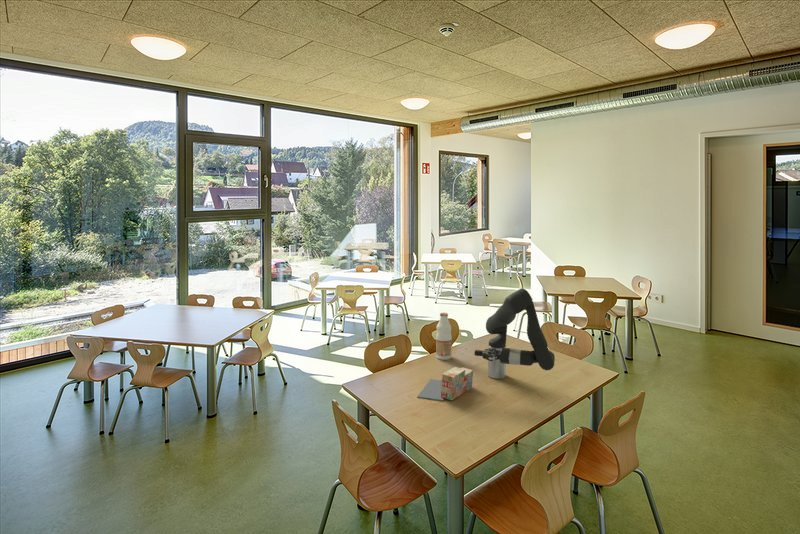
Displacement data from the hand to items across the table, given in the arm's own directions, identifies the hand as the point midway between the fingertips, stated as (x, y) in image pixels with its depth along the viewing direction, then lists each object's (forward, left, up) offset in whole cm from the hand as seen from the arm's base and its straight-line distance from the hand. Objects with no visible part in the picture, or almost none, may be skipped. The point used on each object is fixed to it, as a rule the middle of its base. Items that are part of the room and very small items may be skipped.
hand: (474, 352), depth 227 cm
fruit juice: (+28, -49, -22) cm, 61 cm away
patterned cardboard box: (+9, 0, -22) cm, 24 cm away
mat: (+20, 0, -22) cm, 29 cm away
